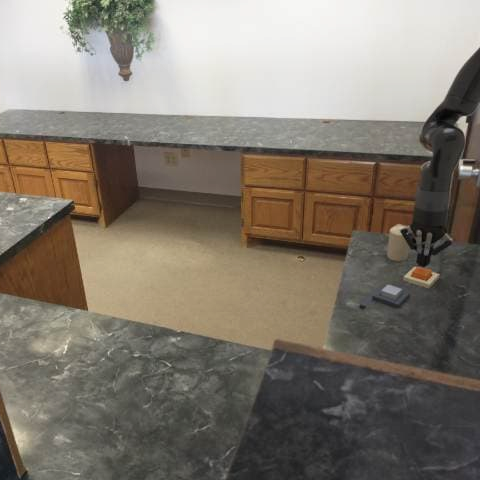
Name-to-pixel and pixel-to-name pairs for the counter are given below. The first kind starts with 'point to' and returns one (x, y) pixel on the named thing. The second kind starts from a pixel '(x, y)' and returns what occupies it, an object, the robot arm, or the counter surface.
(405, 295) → the keypad
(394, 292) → the key
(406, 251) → the candle
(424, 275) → the key
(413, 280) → the keypad
